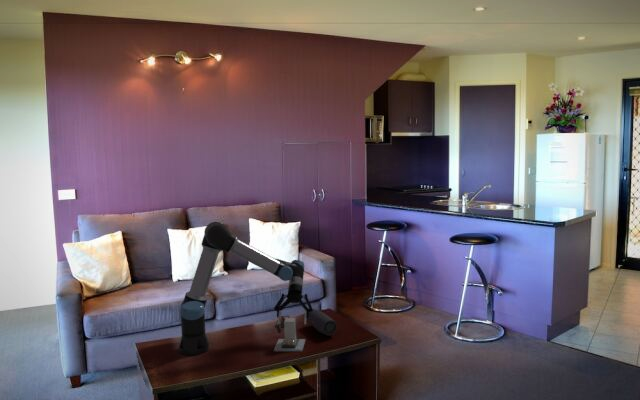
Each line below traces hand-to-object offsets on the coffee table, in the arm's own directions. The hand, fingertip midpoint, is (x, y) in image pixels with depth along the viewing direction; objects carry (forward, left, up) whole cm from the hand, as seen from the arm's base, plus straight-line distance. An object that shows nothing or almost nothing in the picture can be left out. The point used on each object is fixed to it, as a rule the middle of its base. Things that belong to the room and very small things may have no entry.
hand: (292, 323), depth 270 cm
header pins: (-1, -9, -9) cm, 13 cm away
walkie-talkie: (-8, +26, -11) cm, 30 cm away
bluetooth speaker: (+13, +18, -11) cm, 25 cm away
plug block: (-1, -2, -9) cm, 10 cm away
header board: (-1, -4, -10) cm, 11 cm away
